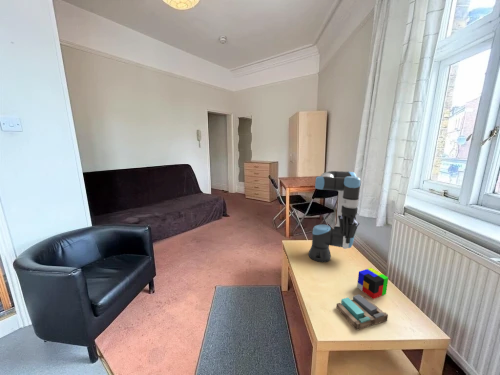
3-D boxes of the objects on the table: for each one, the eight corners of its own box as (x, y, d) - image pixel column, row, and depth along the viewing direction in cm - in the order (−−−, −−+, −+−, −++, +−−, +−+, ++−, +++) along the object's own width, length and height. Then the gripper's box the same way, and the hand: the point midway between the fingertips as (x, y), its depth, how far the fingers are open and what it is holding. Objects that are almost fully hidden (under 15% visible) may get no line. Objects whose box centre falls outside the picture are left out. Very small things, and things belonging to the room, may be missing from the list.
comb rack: (336, 308, 103) (336, 301, 102) (364, 300, 108) (365, 294, 107) (356, 330, 90) (357, 323, 90) (387, 320, 95) (388, 313, 95)
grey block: (352, 303, 106) (353, 296, 105) (358, 301, 108) (358, 294, 107) (370, 318, 97) (371, 310, 96) (375, 315, 99) (377, 308, 98)
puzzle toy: (356, 287, 118) (358, 271, 116) (369, 282, 122) (371, 267, 120) (373, 299, 109) (375, 282, 107) (385, 293, 113) (388, 277, 111)
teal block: (340, 306, 104) (341, 299, 103) (347, 304, 105) (348, 297, 105) (356, 321, 95) (357, 314, 94) (363, 319, 96) (364, 312, 95)
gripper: (335, 203, 113) (331, 243, 118) (353, 210, 101) (348, 254, 106) (346, 202, 115) (342, 241, 120) (365, 209, 103) (360, 252, 108)
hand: (345, 247), depth 113 cm, fingers closed
